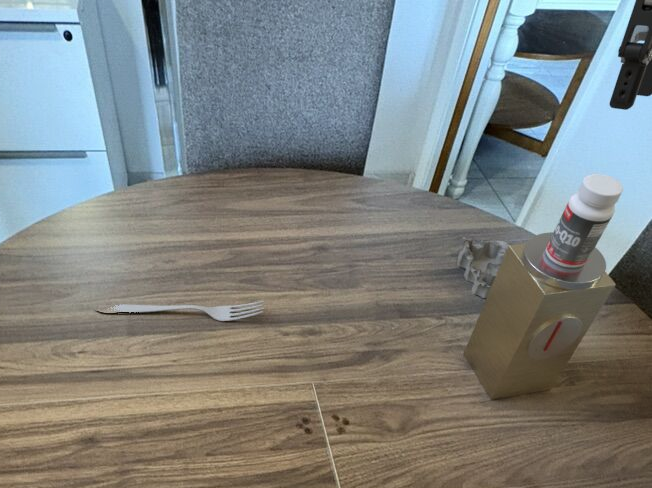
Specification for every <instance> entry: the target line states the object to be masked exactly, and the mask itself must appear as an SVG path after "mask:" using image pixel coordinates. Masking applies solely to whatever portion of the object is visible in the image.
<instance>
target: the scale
mask: <svg viewBox="0 0 652 488" xmlns="http://www.w3.org/2000/svg"><path fill="white" fill-rule="evenodd" d="M553 232H554V231H553ZM553 232H552V231H551V232H543V233H539V234H535V235H534V236H532V237H531V238H529V239H528V240H527V241H526V242H523V243H515V244H514V243H513V244H508V245H509V246H508V249H507V251H506V253H505V256H504V258H503V260H502V263H501V265H500V268H499V270H498V272H497V275H496V277H495V280H494V282H493V284H492V287H491V289H490V291H489V294H488V296H487V298H485V301H484V304H483V305H482V308H481V310H480V313H479V315H478V318H477V320H476V322H475V325H474V327H473V330H472V332H471V335H470V337H469V339H468V342H467V344H466V346H465V349H464V351H463V355H464V356H465V358H466V360H467V362H468V363H469V365H470V366H471V368H472V370H473V372H474V373H475V375H476V377H477V378H478V381H479V383H480V384H481V385H482V387H483V389H484V391H485V393H486V394H487V396H488V398H489V399H490V400H491V401H493V400H497V399H498V400H499V399H504V398H510V397H516V396H522V395H528V394H533V393H540V392H546V391H550V390H552V389H553V387H554V385H555V383H556V382H557V380H558V379H559V377H560V375H561V374H562V372H563V371H564V369H565V368H566V366H567V364H568V363H569V361H570V359H571V358H572V356H573V355H574V353H575V351H576V350H577V349H578V346H579V345H580V344H581V342H582V340H583V338H584V337H585V335H586V334H587V332H588V330H589V329H590V328H591V326H592V325H593V322H594V321H595V319H596V317H597V316H598V315H599V313H600V311H601V310H602V308H603V306H604V305H605V304H606V301H607V300H608V298H609V297H610V295H611V294H612V292H613V290H614V288H615V287H616V285H617V284H616V283H615V281H614V280H613V279H612V278H611V276H609V274H608V273H607V272H606V270H607V262H606V259H605V257H604V255H603V254H602V252H601V251H600V250H599V249H598V248H597V247H596V246H595V248H594V250H593V252H592V253H591V255H590V257H589V259H588V260H587V262H586V263H585V264H584V265H582V266H580V267H575V268H568V267H563V266H560V265H558V264H556V263H554V262H553V261H551V260H550V259H549V257H548V256H547V254H546V247H547V245H548V243H549V241H550V238H551V237H552V234H553Z"/></svg>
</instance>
